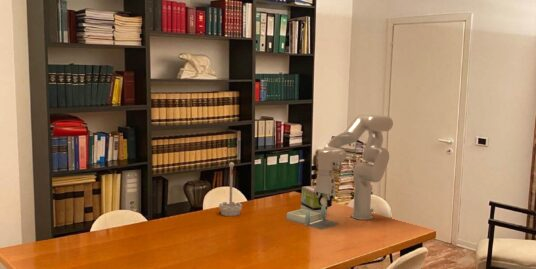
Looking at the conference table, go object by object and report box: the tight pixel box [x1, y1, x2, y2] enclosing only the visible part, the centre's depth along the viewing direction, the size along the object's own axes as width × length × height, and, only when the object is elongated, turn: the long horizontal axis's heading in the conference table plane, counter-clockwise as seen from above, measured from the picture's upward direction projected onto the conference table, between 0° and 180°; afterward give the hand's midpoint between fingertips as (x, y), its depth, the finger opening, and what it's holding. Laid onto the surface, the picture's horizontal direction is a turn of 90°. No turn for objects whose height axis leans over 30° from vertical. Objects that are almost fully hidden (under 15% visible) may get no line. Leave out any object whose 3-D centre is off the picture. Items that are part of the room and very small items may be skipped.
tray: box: [286, 208, 321, 224], centre depth 292 cm, size 13×13×3 cm
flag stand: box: [218, 161, 243, 217], centre depth 300 cm, size 13×13×30 cm
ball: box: [320, 197, 328, 206], centre depth 281 cm, size 5×5×5 cm
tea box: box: [300, 185, 328, 217], centre depth 306 cm, size 15×10×15 cm, turn 25°
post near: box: [304, 210, 310, 226], centre depth 281 cm, size 2×2×8 cm
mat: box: [284, 217, 341, 231], centre depth 289 cm, size 17×27×1 cm, turn 47°
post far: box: [320, 206, 326, 220], centre depth 292 cm, size 2×2×8 cm
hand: (325, 205), depth 281 cm, fingers closed on ball, 4 cm apart
